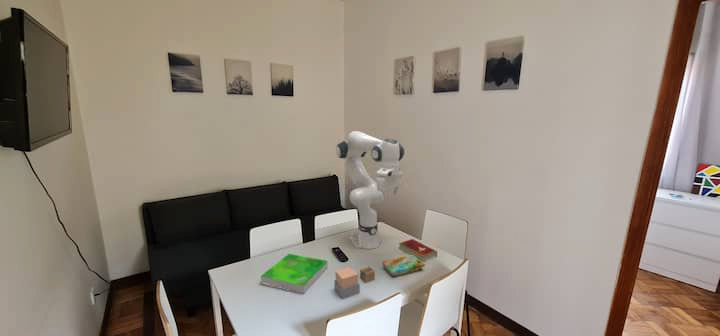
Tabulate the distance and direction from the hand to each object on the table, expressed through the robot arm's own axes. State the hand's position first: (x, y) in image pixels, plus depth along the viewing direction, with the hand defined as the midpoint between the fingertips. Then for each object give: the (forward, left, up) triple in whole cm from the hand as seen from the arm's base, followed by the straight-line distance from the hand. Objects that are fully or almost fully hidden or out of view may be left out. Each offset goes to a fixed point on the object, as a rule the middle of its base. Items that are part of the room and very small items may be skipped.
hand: (390, 196), depth 155 cm
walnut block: (+2, -16, -42) cm, 45 cm away
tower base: (+6, -30, -42) cm, 52 cm away
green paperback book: (-20, -47, -42) cm, 66 cm away
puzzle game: (+4, +6, -42) cm, 43 cm away
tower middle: (+6, -30, -37) cm, 48 cm away
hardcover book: (-7, +26, -42) cm, 50 cm away
